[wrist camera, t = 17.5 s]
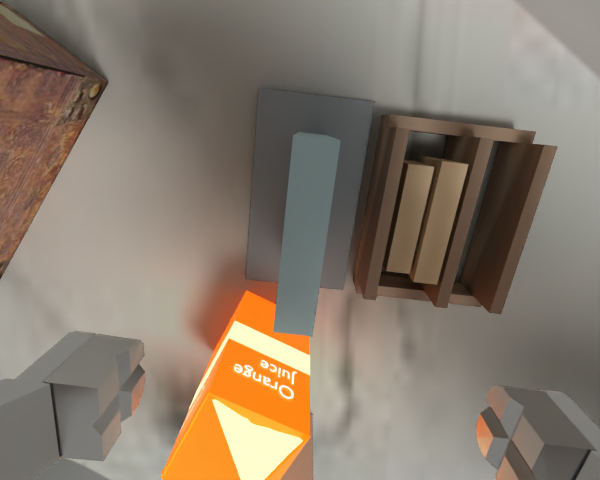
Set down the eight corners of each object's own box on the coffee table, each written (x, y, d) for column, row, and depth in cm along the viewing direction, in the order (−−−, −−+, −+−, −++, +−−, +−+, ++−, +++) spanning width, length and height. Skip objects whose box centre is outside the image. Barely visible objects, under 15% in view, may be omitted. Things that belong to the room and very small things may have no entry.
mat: (373, 102, 30) (374, 101, 29) (342, 287, 35) (342, 290, 35) (259, 88, 30) (258, 87, 29) (246, 276, 35) (245, 279, 35)
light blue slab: (327, 135, 30) (340, 140, 18) (310, 260, 34) (312, 336, 22) (299, 131, 30) (293, 134, 18) (285, 257, 34) (273, 332, 22)
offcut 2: (439, 157, 31) (468, 164, 26) (415, 258, 34) (437, 284, 29) (417, 155, 31) (442, 161, 26) (395, 256, 34) (413, 281, 29)
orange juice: (212, 351, 38) (118, 571, 19) (245, 289, 36) (176, 471, 17) (274, 379, 39) (243, 614, 20) (311, 320, 37) (315, 526, 18)
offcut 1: (413, 160, 31) (434, 166, 26) (393, 251, 34) (409, 273, 29) (391, 157, 31) (408, 163, 26) (374, 249, 34) (386, 271, 29)
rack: (514, 131, 30) (562, 132, 25) (466, 292, 35) (497, 324, 30) (382, 115, 30) (399, 112, 24) (353, 279, 35) (361, 309, 30)
